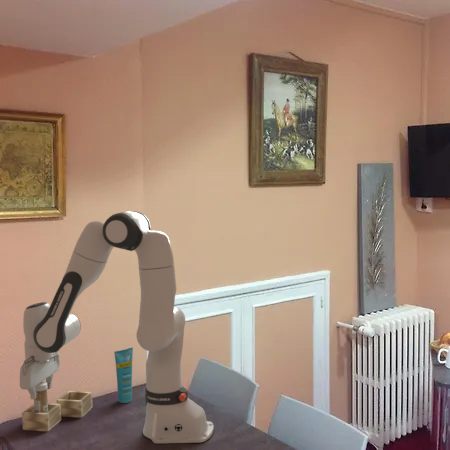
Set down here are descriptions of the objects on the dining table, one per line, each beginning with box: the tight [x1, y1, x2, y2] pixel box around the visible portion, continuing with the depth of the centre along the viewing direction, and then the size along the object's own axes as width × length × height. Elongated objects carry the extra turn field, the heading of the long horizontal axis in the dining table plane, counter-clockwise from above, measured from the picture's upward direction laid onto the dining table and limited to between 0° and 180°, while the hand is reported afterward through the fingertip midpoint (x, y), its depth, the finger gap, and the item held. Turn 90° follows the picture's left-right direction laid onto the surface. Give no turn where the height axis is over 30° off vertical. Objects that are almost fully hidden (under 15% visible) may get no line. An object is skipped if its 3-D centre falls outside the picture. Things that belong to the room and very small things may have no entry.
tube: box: [113, 347, 134, 404], centre depth 214 cm, size 7×5×19 cm, turn 134°
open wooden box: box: [56, 390, 93, 419], centre depth 205 cm, size 9×9×6 cm
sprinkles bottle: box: [33, 381, 49, 413], centre depth 194 cm, size 5×5×14 cm
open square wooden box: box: [21, 402, 62, 432], centre depth 195 cm, size 9×9×6 cm
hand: (41, 393), depth 194 cm, fingers open, 8 cm apart
